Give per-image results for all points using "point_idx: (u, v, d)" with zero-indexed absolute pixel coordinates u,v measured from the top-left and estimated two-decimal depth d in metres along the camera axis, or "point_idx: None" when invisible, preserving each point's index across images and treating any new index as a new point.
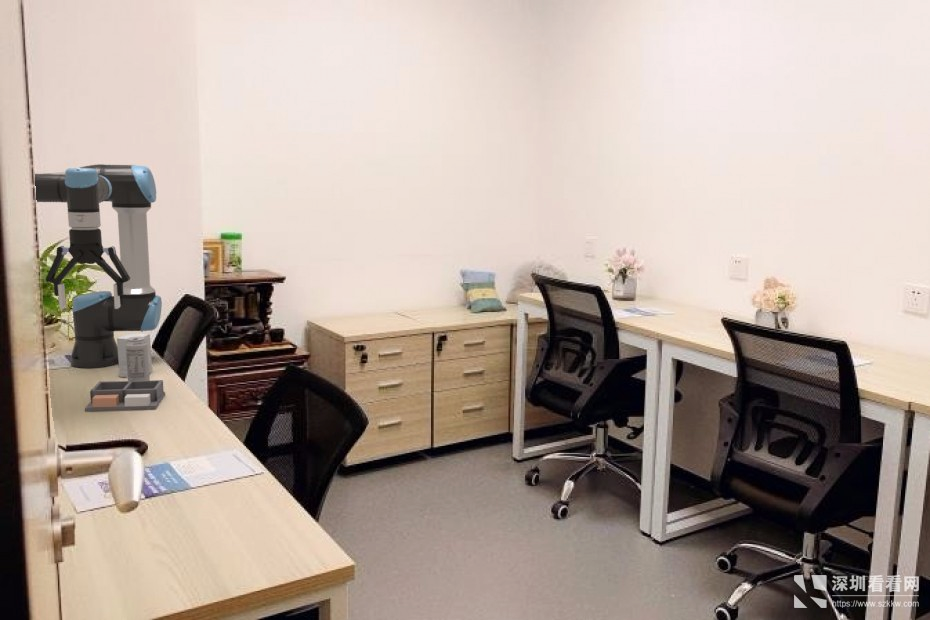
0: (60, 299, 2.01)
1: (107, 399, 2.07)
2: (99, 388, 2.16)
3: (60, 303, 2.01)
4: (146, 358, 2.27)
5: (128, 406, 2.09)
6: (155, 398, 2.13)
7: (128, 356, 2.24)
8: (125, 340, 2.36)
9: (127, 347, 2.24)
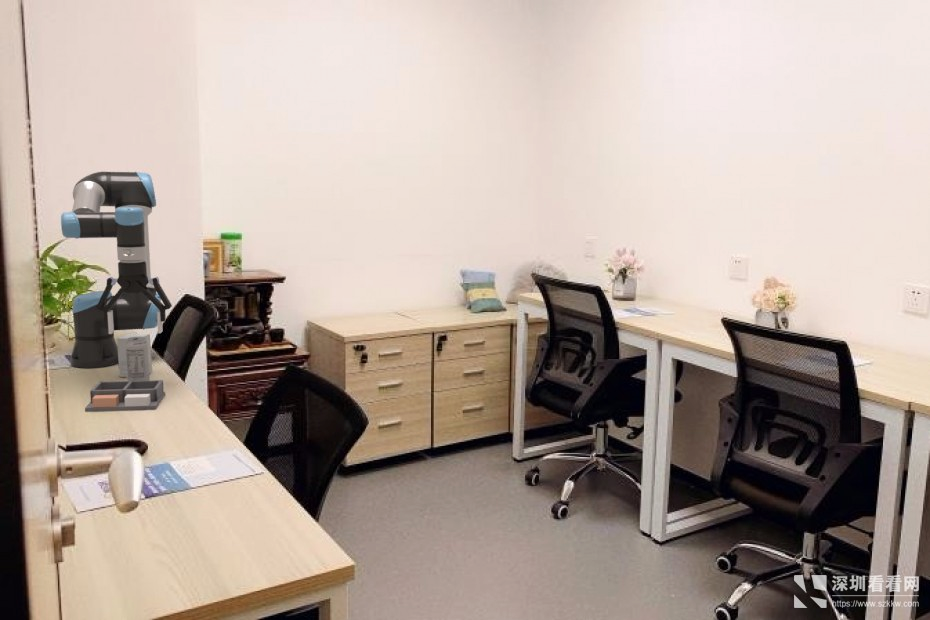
0: (109, 325, 2.22)
1: (107, 399, 2.07)
2: (99, 388, 2.16)
3: (109, 329, 2.23)
4: (146, 358, 2.27)
5: (128, 406, 2.09)
6: (155, 398, 2.13)
7: (128, 356, 2.24)
8: (125, 340, 2.36)
9: (127, 347, 2.24)
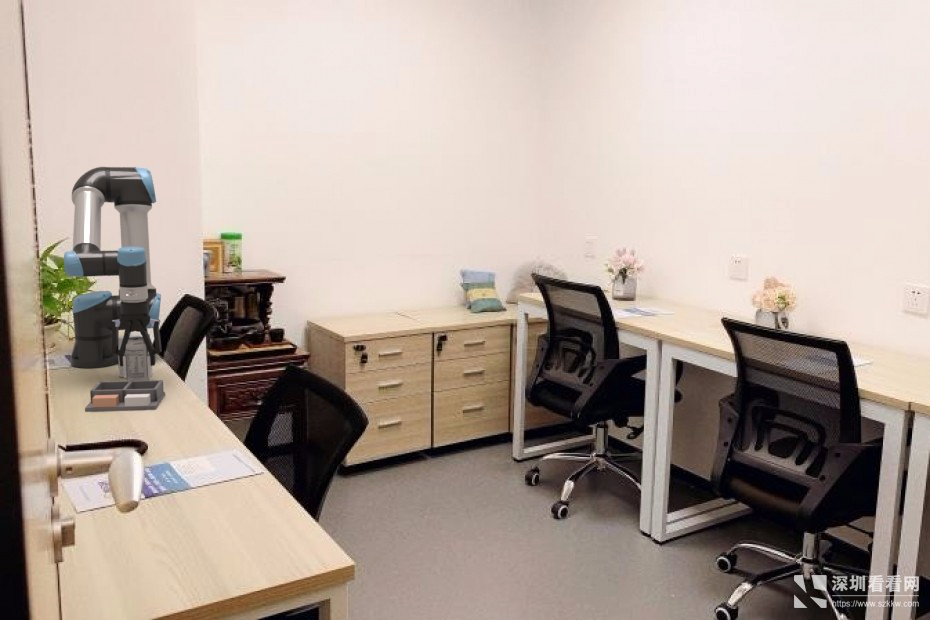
0: (124, 369, 2.26)
1: (107, 399, 2.07)
2: (99, 388, 2.16)
3: (124, 373, 2.26)
4: (146, 358, 2.27)
5: (128, 406, 2.09)
6: (155, 398, 2.13)
7: (128, 356, 2.24)
8: None
9: (127, 347, 2.24)
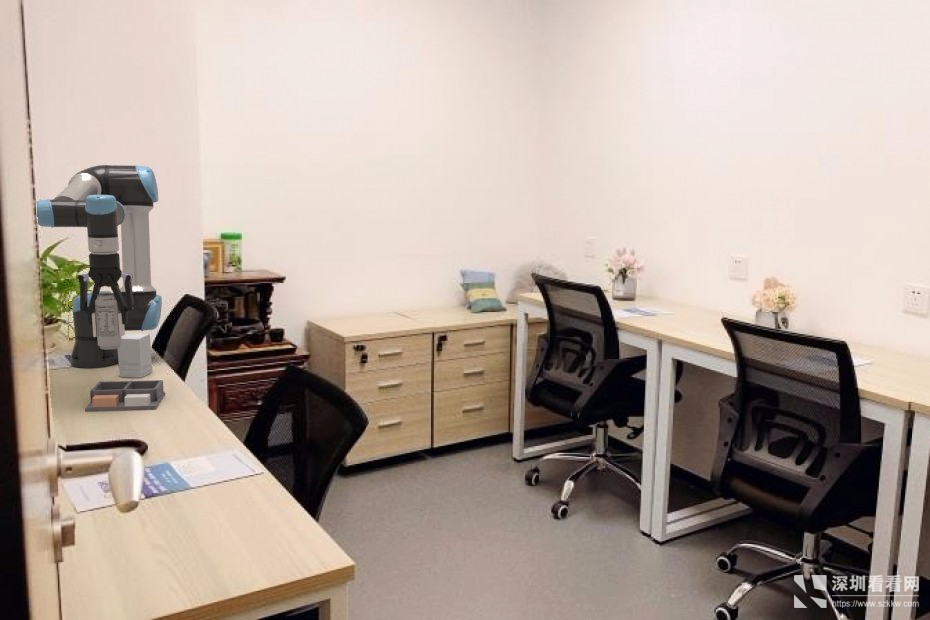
0: (94, 327, 2.10)
1: (107, 399, 2.07)
2: (99, 388, 2.16)
3: (94, 331, 2.10)
4: (117, 315, 2.10)
5: (128, 406, 2.09)
6: (155, 398, 2.13)
7: (97, 313, 2.08)
8: (125, 340, 2.36)
9: (96, 303, 2.08)
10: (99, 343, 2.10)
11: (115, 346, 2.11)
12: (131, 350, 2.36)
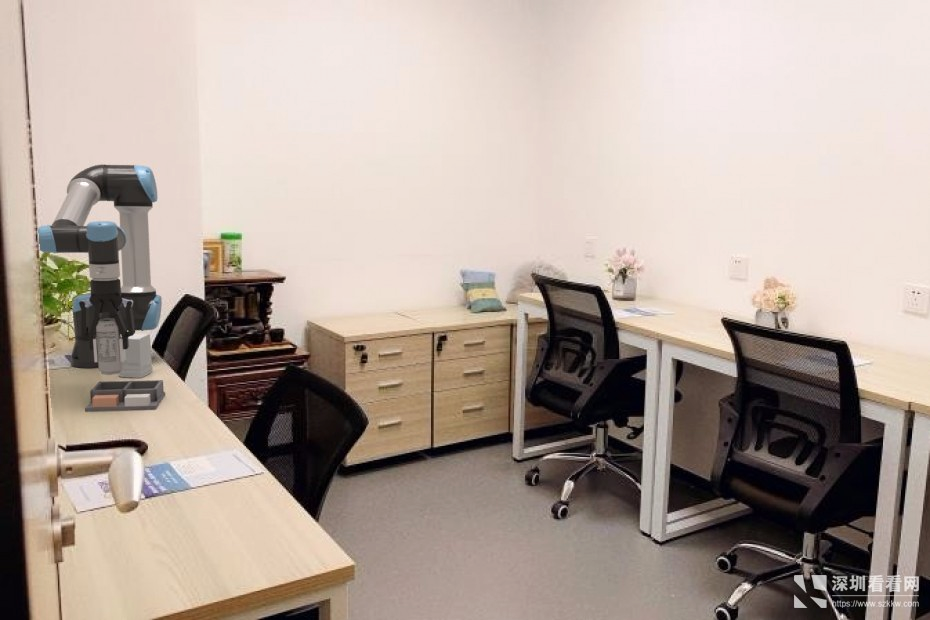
0: (95, 353, 2.11)
1: (107, 399, 2.07)
2: (99, 388, 2.16)
3: (95, 356, 2.11)
4: (118, 341, 2.12)
5: (128, 406, 2.09)
6: (155, 398, 2.13)
7: (99, 338, 2.09)
8: None
9: (97, 329, 2.09)
10: (100, 368, 2.11)
11: (116, 371, 2.12)
12: (131, 350, 2.36)
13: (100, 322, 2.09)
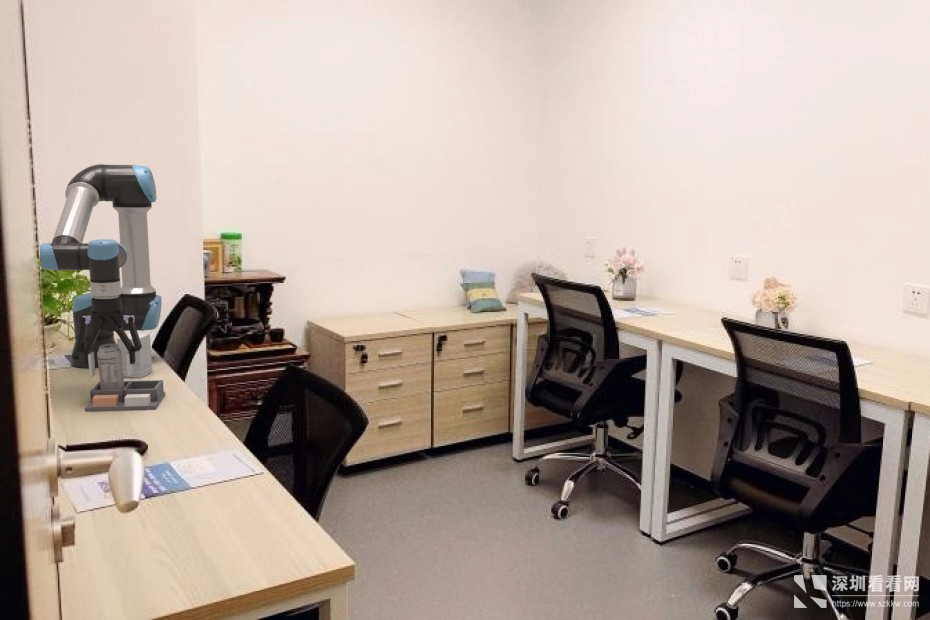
0: (90, 368, 2.12)
1: (107, 399, 2.07)
2: (99, 388, 2.16)
3: (90, 372, 2.12)
4: (119, 366, 2.13)
5: (128, 406, 2.09)
6: (155, 398, 2.13)
7: (100, 365, 2.11)
8: None
9: (98, 355, 2.10)
10: None
11: None
12: None
13: (101, 349, 2.10)
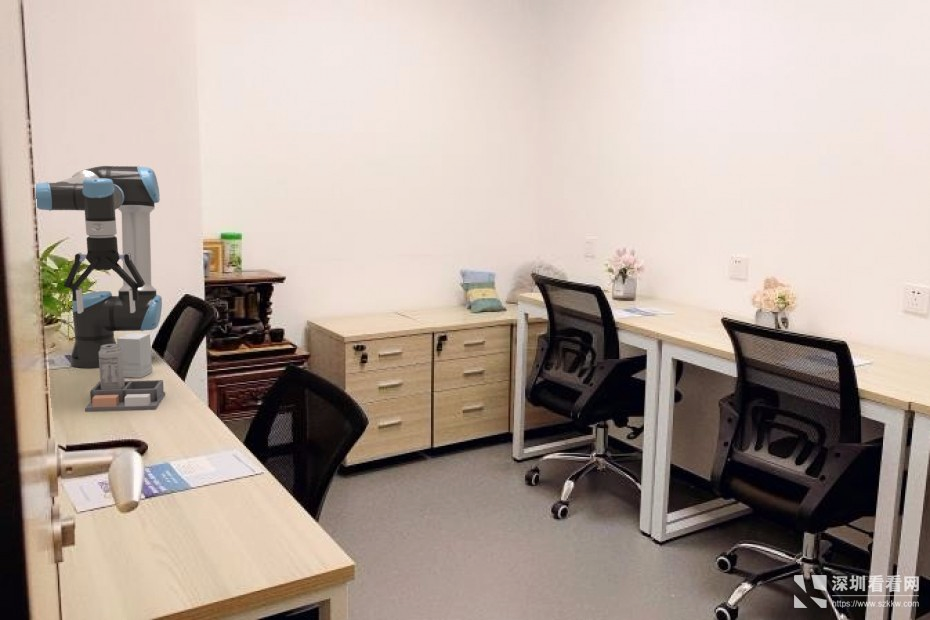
0: (78, 304, 2.10)
1: (107, 399, 2.07)
2: (99, 388, 2.16)
3: (78, 308, 2.10)
4: (120, 367, 2.13)
5: (128, 406, 2.09)
6: (155, 398, 2.13)
7: (101, 364, 2.11)
8: (125, 340, 2.36)
9: (100, 355, 2.11)
10: None
11: None
12: (131, 350, 2.36)
13: (102, 348, 2.11)
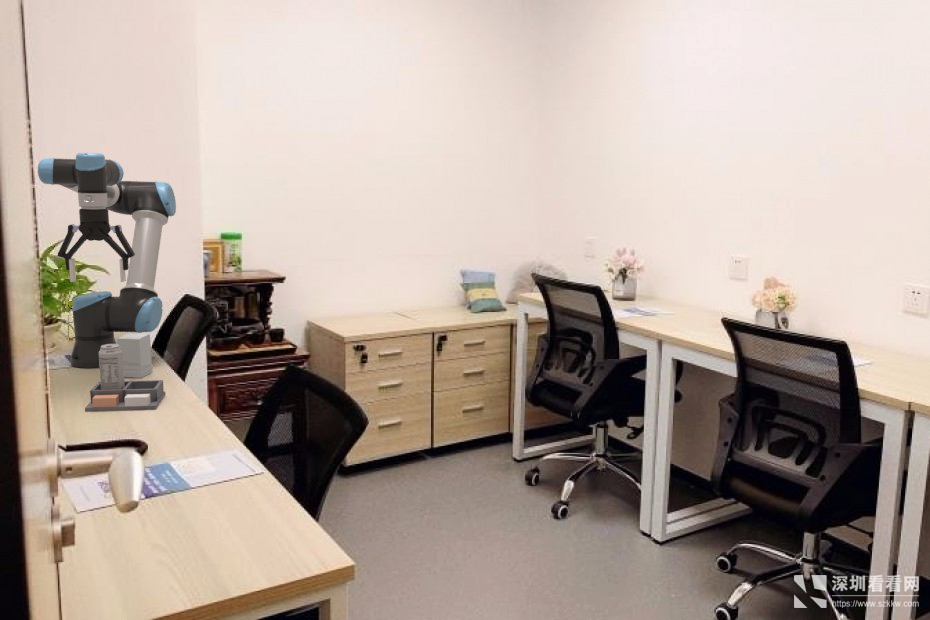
0: (71, 273, 2.20)
1: (107, 399, 2.07)
2: (99, 388, 2.16)
3: (71, 276, 2.20)
4: (120, 367, 2.13)
5: (128, 406, 2.09)
6: (155, 398, 2.13)
7: (101, 365, 2.11)
8: (125, 340, 2.36)
9: (100, 355, 2.11)
10: None
11: None
12: (131, 350, 2.36)
13: (102, 348, 2.11)
